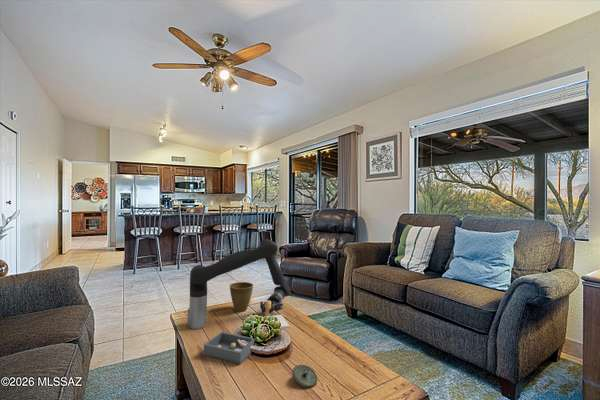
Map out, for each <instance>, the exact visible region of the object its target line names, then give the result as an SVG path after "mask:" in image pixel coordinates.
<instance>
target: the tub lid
mask: <svg viewBox="0 0 600 400" xmlns="http://www.w3.org/2000/svg"><path fill="white" fill-rule="evenodd" d="M264 303H265V312H264V317H266V316H273V317H277V318H278V319H279V321H280V323H281V331H285V330H286V329H290V325H289V323H288V321H287V320H286V319H285V317H284V316H283V314H278V315H277V314H275V315H272V313H271V314H269V309H270V308H271V301H267V300H265V301H264Z"/></svg>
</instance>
